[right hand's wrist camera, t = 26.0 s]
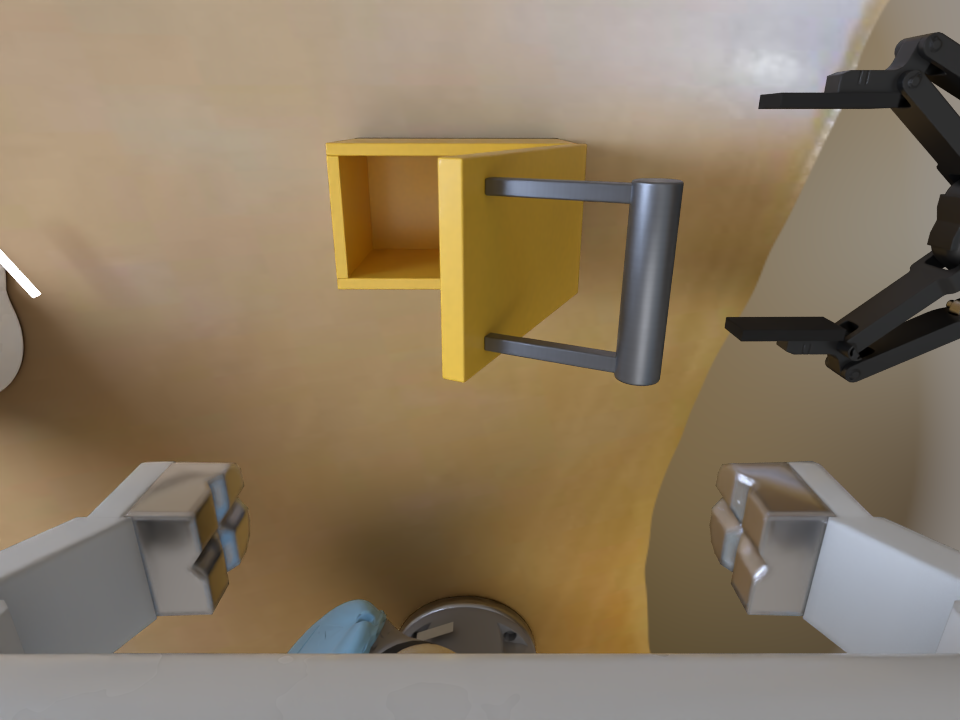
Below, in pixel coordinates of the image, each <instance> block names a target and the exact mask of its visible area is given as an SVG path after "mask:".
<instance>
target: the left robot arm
mask: <svg viewBox="0 0 960 720" xmlns="http://www.w3.org/2000/svg"><path fill="white" fill-rule="evenodd" d="M932 82H933V83H934V84H936V85H937V86H939V87H940V88H942V89H944V90H945V91H947V92H948V93H950V94H951V95H953V96H955V97H956V98H958V99H959V100H960V44H958V43H957V42H955V41H954V40H952V39H951V38H949V37H948V36H946V35H945V34H943V33H940V32H937V33H931V34H926V35H921V36H916V37H911V38H906V39H903V40H901V41H900V42H899V43H898V44H897V46H896V48H895V59H894V61H893V62H892V64H891V65H890V66H889V67H888V68H887V69H886V70H849V71H842V72H836V73H834V74H831V75H829V76H827V81H826V86H825V91H824V93H775V94H766V95H760V102H759V108H758V109H875V108H891V109H892V111H893V112H894V113H895V114H896V115H897V116H898V117H899V119H900V120H901V121H902V122H903V123H904V125H905V126H906V127H907V128H908V129H909V130H910V132H911V133H912V134H913V135H914V136H915V137H916V139H917V140H918V141H919V142H920V143H921V144H922V146H923V147H924V148H925V149H926V150H927V151H928V153H929V154H930V155H931V156H932V157H933V158H934V160H935V161H936V162H937V163H938V165H937V169H938V171H939V172H940V173H941V174H942V175H943V176H944V178H945V179H946V180H947V181H948V182H949V183H950V185H951V187H950V188H949V189H948V190H947V192H946V194H941V195H940V198H939V202H938V205H937V221H936V223H935V225H934V226H933V228H932V230H931V232H930V235H929V239H928V243H927V244H928V245H931V248H932V251H931V252H930V253H928V254H927V255H925V256H924V257H922V258H921V259H919V260H918V261H917V262H915V263H914V264H912V265H911V267H910V271H909V272H908V273H907V274H905V275H904V276H903V277H901V278H900V279H898V280H897V281H895V282H894V283H892V284H891V285H890V286H888V287H887V288H885V289H884V290H882V291H881V292H879V293H878V294H876V295H875V296H874V297H872V298H871V299H869V300H868V301H866V302H865V303H864V304H862V305H861V306H859V307H858V308H856V309H855V310H853V311H852V312H851V313H849V314H848V315H846V316H845V317H843V318H842V319H840V320H839V321H837V322H836V323H833V322H832V321H830V320H828V319H826V318H824V317H726V322H725V329H727V330H728V331H729V332H730V333H732V334H733V335H734V336H735V337H737V338H738V339H739V340H740V341H777V345H778V346H780V347H781V348H782V349H784V350H785V351H787V352H789V353H791V354H827V356H828V357H827V358H826V360H825V364H826V366H827V367H828V368H830V369H831V370H832V371H834V372H835V373H837V374H838V375H840V376H841V377H843V378H844V379H846V380H847V381H849V382H857V381H859V380H862V379H864V378H867V377H869V376H871V375H874V374H876V373H878V372H881V371H883V370H886V369H888V368H890V367H893V366H895V365H897V364H900V363H902V362H905V361H907V360H909V359H912V358H914V357H917V356H919V355H921V354H924V353H926V352H928V351H931V350H933V349H936V348H938V347H940V346H943V345H945V344H948V343H950V342H952V341H955V340H957V339H960V298H959V299H957V300H955V301H954V300H950V301H948V302H947V304H946V307H945V308H939V309H936V310H932V311H930V312H927V313H924V314H922V315H920V316H917V317H915V318H913V319H910V320H908V319H909V318H911V317H912V316H914V315H915V314H917V313H918V312H920V311H921V310H923V309H924V308H926V307H927V306H929V305H930V304H932V303H933V302H935V301H936V300H938V299H939V298H941V297H942V296H944V295H946V294H953V293H956V292H958V291H960V116H959V115H958V114H957V113H956V112H955V110H954V109H953V108H952V107H951V105H950V104H949V103H948V102H947V101H946V99H945V98H944V97H943V96H942V94H941V93H940V92H939V91H938V90H937V88H936V87H935V86H934V85H933V83H932ZM944 267H946V268H947V269H948V270H945V269H942V268H944ZM906 320H908V321H906ZM905 321H906V322H905ZM287 654H536V651H535V643H534V638H533V635H532V633H531V630H530V629H529V627H528V625H527V624H526V623H525V621H524V620H523V619H522V618H521V617H520V616H519V615H518V614H517V613H516V612H514V611H513V610H511V609H510V608H508V607H506V606H505V605H503V604H500V603H498V602H495V601H493V600H489V599H486V598H480V597H473V596H457V597H449V598H444V599H440V600H437V601H434V602H432V603H429V604H427V605H425V606H423V607H422V608H420V609H418V610H417V611H416V612H414V613H413V614H412V615H411V616H410V617H409V618H408V619H407V620H406V621H405V623H404V624H403V625H402V627H401V629H400V631H399V630H397V629H396V628H395V627H394V626H393V625H392V624H391V623H390V622H389V621H388V619H387V618H386V614H385V613H384V611H382V610H378V609H377V608H376V607H375V606H374V605H373V604H372V603H370V602H369V601H366V600H362V599H357V600H351V601H348V602H345V603H343V604H341V605H339V606H337V607H336V608H334V609H332V610H331V611H330V612H328V613H327V614H325V615H324V616H323V617H322V618H321V619H319V620H318V621H317V622H316V623H315V624H313V625H312V626H311V627H310V628H309V629H308V630H307V631H306V632H305V633H304V634H303V635H302V637H301V638H300V639H299V640H298V641H297V642H296V643H295V644H294V645H293V647H292V648H291V649H290V650H289V652H288V653H287Z"/></svg>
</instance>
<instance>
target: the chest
mask: <svg viewBox="0 0 960 720" xmlns="http://www.w3.org/2000/svg"><path fill="white" fill-rule="evenodd" d="M562 144H576V143H572V142H568V141H564V140H560V139H558V138H355V139H349V140H343V141H336V142H329V143H326V144H325V145H326V155H327V156H326V158H327V169H328V181H329V192H330V204H331V215H332V226H333V238H334V249H335V261H336V272H337V283H338V289H441V285H440V242H439V199H438V158H439V157H445V156H455V155H465V154H475V153H484V152H494V151H504V150H513V149H523V148H533V147H542V146H552V145H562Z"/></svg>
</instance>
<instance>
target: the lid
mask: <svg viewBox="0 0 960 720" xmlns="http://www.w3.org/2000/svg"><path fill="white" fill-rule="evenodd" d="M586 153H587V144H562V145H552V146H542V147H533V148H523V149H513V150H504V151H494V152H484V153H475V154H465V155H455V156H445V157H439V158H438V199H439V242H440V285H441V328H442V371H443V378H444V379H448V380H453V381H458V382H466V381H467V380H468V379H470V378H471V377H472V376H473V375H475V374H476V373H477V372H478V371H480V370H481V369H482V368H483V367H485V366H486V365H487V364H488V363H490V362H491V361H492V360H493V359H495V358H496V357H497V356H499V355H500V354H501V353H503V354H508V355H514V356H520V357H526V358H532V359H537V360H543V361H549V362H555V363H561V364H566V365H572V366H578V367H584V368H590V369H595V370H601V371H607V372H613V373H614V375H615V377H616V379H618V380H619V381H621V382H623V383H626V384H630V385H636V386H648V385H653V384H656V383H657V382H658V381H659V380H660V373H661V365H662V357H663V349H664V340H665V332H666V324H667V316H668V307H669V299H670V291H671V283H672V275H673V266H674V258H675V250H676V242H677V233H678V225H679V217H680V209H681V200H682V192H683V184H684V183H683V181H681V180H676V179H662V178H642V179H634V180H632V183H625V182H602V181H585V169H586ZM583 201H591V202H608V203H625V204H630V206H629V217H628V228H627V239H626V250H625V261H624V272H623V283H622V294H621V305H620V316H619V327H618V339H617V350H616V352H611V351H605V350H598V349H592V348H586V347H579V346H573V345H567V344H560V343H554V342H548V341H542V340H535V339H529V338H523V337H522V336H524V335H525V334H526V333H528V332H529V331H530V330H531V329H533V328H534V327H535V326H536V325H538V324H539V323H540V322H541V321H543V320H544V319H545V318H546V317H548V316H549V315H550V314H552V313H553V312H554V311H555V310H557V309H558V308H559V307H560V306H562V305H563V304H564V303H565V302H567V301H568V300H569V299H570V298H572V297H573V296H574V295H575V294H577V293H578V280H579V264H580V248H581V232H582V216H583Z"/></svg>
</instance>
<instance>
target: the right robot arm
mask: <svg viewBox="0 0 960 720" xmlns="http://www.w3.org/2000/svg"><path fill="white" fill-rule="evenodd" d="M5 269H6V270H7V271H8V272H9V273H10V274H11V275H12V276H13V277H14V278H15V279H16V280H17V281H18V283H19V284H20V285H21V286H22V287H23V288H24V289H25V290H26V291H27V292H28V293H29V294H30V295H31V296H32V298H34V297H37V296H39V295H40V294H41V293H40V292H39V291H38V290H37V289H36V288H35V287H34V286H33V284H32V283H31V282H30V281H29V280H28V279H27V278H26V277H25V276H24V275H23V274H22V273H21V271H20V270H19V269H18V268H17V267H16V266H15V265H14V264H13V263H12V262H11V261H10V260H9V259H8V257H7V256H6V255H5V254H4V253H3V252H2V251H1V250H0V392H1V391H2V390H3V389H5V388H6V387H7V386H8V385H9V384H10V383H11V382H12V380H13V379H14V378H15V376H16V375H17V373H18V371H19V368H20V365H21V362H22V357H23V336H22V331H21V327H20V324H19V320H18V318H17V315H16V313H15V311H14V309H13V307H12V304H11V302H10V300H9V297H8V295H7V291H6V272H5ZM243 487H244V482H243V477H242V472H241V468H240V467H239V466H238V465H237V464H236V463H212V462H174V461H167V462H146V463H141V464H140V465H139V466H138V467H137V468H136V469H135V470H134V471H133V472H132V473H131V474H130V475H129V476H128V477H127V478H126V479H125V480H124V481H123V482H122V483H121V484H120V485H119V486H118V487H117V488H116V489H115V490H114V491H113V492H112V493H111V494H110V495H109V496H108V497H107V498H106V499H105V500H104V501H103V502H102V503H101V504H100V505H99V506H98V507H97V508H96V509H95V510H94V511H93V512H92V513H91V514H90V515H89V516H88V517H76V518H74V519H72V520H70V521H67V522H65V523H63V524H61V525H58V526H56V527H54V528H51V529H49V530H47V531H45V532H42V533H40V534H38V535H36V536H33V537H31V538H29V539H27V540H24V541H22V542H20V543H17V544H15V545H13V546H11V547H8V548H6V549H4V550H2V551H0V720H960V551H958V550H956V549H954V548H951V547H949V546H947V545H945V544H942V543H940V542H938V541H936V540H933V539H931V538H929V537H926V536H924V535H922V534H920V533H917V532H915V531H913V530H911V529H908V528H906V527H904V526H902V525H899V524H897V523H895V522H893V521H890V520H888V519H886V518H884V517H872V516H871V515H870V514H869V513H868V512H867V511H866V510H865V509H864V508H863V507H862V506H861V505H860V504H859V503H858V502H857V501H856V500H855V499H854V498H853V497H852V496H851V495H850V494H849V493H848V492H847V491H846V490H845V489H844V488H843V487H842V486H841V485H840V484H839V483H838V482H837V481H836V480H835V479H834V478H833V477H832V476H831V475H830V474H829V473H828V472H827V471H826V470H825V469H824V468H823V467H822V466H821V465H820V464H818V463H816V462H813V461H803V462H774V463H733V464H722V465H721V468H720V470H719V472H718V476H717V481H716V487H717V489H718V490H719V492H720V493H721V495H722V496H723V497H722V498H721V499H720V500H719V501H718V502H717V503H716V504H715V505H714V507H712V511H711V519H710V534H711V543H712V546H713V549H714V553H715V555H716V557H717V559H718V561H719V562H720V564H721V565H723V566H724V567H726V568H727V569H729V570H730V571H732V572H733V575H732V580H731V585H732V587H733V588H734V590H735V592H736V594H737V596H738V597H739V599H740V601H741V603H742V605H743V606H744V608H745V610H746V612H747V614H751V615H787V616H803V619H804V620H806V621H807V622H808V623H810V624H811V625H812V626H813V627H815V628H816V629H817V630H819V631H820V632H821V633H822V634H824V635H825V636H826V637H827V638H829V639H830V640H831V641H833V642H834V643H835V644H836V645H838V646H839V647H840V648H842V649H843V650H844V651H845V652H847V653H845V654H844V653H824V654H823V653H814V654H813V653H806V654H805V653H803V654H802V653H797V654H795V653H794V654H793V653H789V654H788V653H781V654H780V653H776V654H773V653H772V654H770V653H768V654H766V653H765V654H763V653H756V654H753V653H752V654H751V653H749V654H748V653H747V654H745V653H739V654H737V653H736V654H735V653H734V654H733V653H732V654H730V653H729V654H725V653H723V654H722V653H721V654H720V653H719V654H718V653H717V654H716V653H715V654H714V653H710V654H709V653H707V654H706V653H702V654H701V653H699V654H695V653H691V654H690V653H689V654H688V653H687V654H261V653H114V652H115V651H116V650H117V649H119V648H120V647H121V646H123V645H124V644H125V643H126V642H128V641H129V640H130V639H131V638H133V637H134V636H135V635H137V634H138V633H139V632H140V631H142V630H143V629H144V628H146V627H147V626H148V625H149V624H151V623H152V622H153V621H155V620H156V619H157V617H156V616H172V615H208V614H213V612H214V610H215V608H216V606H217V605H218V603H219V601H220V599H221V597H222V596H223V594H224V592H225V590H226V588H227V586H228V585H229V580H228V575H227V572H228V571H230V570H231V569H233V568H234V567H236V566H237V565H239V564H240V562H241V560H242V559H243V557H244V555H245V553H246V550H247V545H248V541H249V536H250V517H249V511H248V507H247V506H246V505H245V504H244V503H243V502H242V501H241V500H240V499H239V498H238V497H237V496H238V495H239V493H240V492H241V490H242V489H243Z"/></svg>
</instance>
